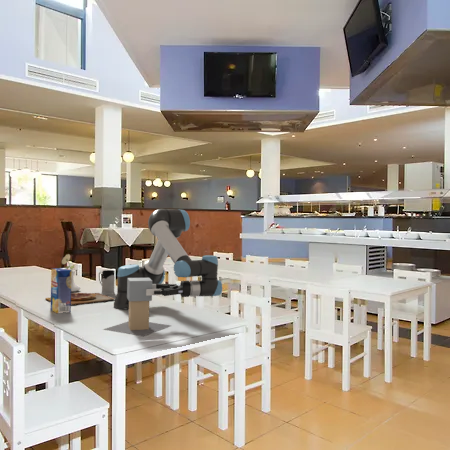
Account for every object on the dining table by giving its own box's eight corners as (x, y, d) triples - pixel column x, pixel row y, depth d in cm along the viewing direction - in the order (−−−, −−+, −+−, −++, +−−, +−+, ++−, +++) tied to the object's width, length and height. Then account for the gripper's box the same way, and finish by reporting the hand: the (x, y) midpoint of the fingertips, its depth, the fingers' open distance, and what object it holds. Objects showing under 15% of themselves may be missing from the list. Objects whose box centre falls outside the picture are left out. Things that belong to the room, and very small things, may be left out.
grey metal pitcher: (106, 295, 279) (107, 272, 279) (93, 292, 287) (93, 270, 287) (117, 293, 286) (118, 271, 286) (104, 291, 294) (104, 269, 294)
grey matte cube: (126, 297, 201) (127, 277, 201) (148, 296, 205) (149, 277, 204) (129, 301, 192) (129, 281, 192) (151, 300, 195) (152, 280, 195)
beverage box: (63, 308, 237) (64, 267, 237) (70, 311, 229) (71, 270, 228) (50, 309, 233) (51, 268, 232) (57, 313, 224) (58, 270, 224)
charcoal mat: (134, 320, 213) (134, 319, 213) (171, 326, 203) (172, 325, 203) (103, 330, 193) (103, 329, 193) (143, 337, 184) (143, 336, 184)
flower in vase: (73, 289, 298) (74, 252, 298) (83, 291, 291) (84, 254, 291) (56, 291, 288) (57, 253, 287) (66, 293, 281) (67, 255, 280)
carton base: (128, 325, 201) (129, 286, 201) (146, 324, 204) (147, 285, 203) (130, 330, 193) (131, 289, 193) (148, 329, 196) (149, 288, 196)
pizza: (96, 294, 284) (96, 289, 284) (118, 301, 264) (119, 295, 264) (42, 300, 259) (42, 294, 259) (62, 308, 239) (62, 301, 239)
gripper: (195, 301, 193) (147, 303, 187) (183, 292, 217) (140, 293, 210) (196, 284, 193) (148, 285, 186) (183, 277, 217) (140, 277, 210)
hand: (144, 289), depth 198 cm, fingers open, 13 cm apart
